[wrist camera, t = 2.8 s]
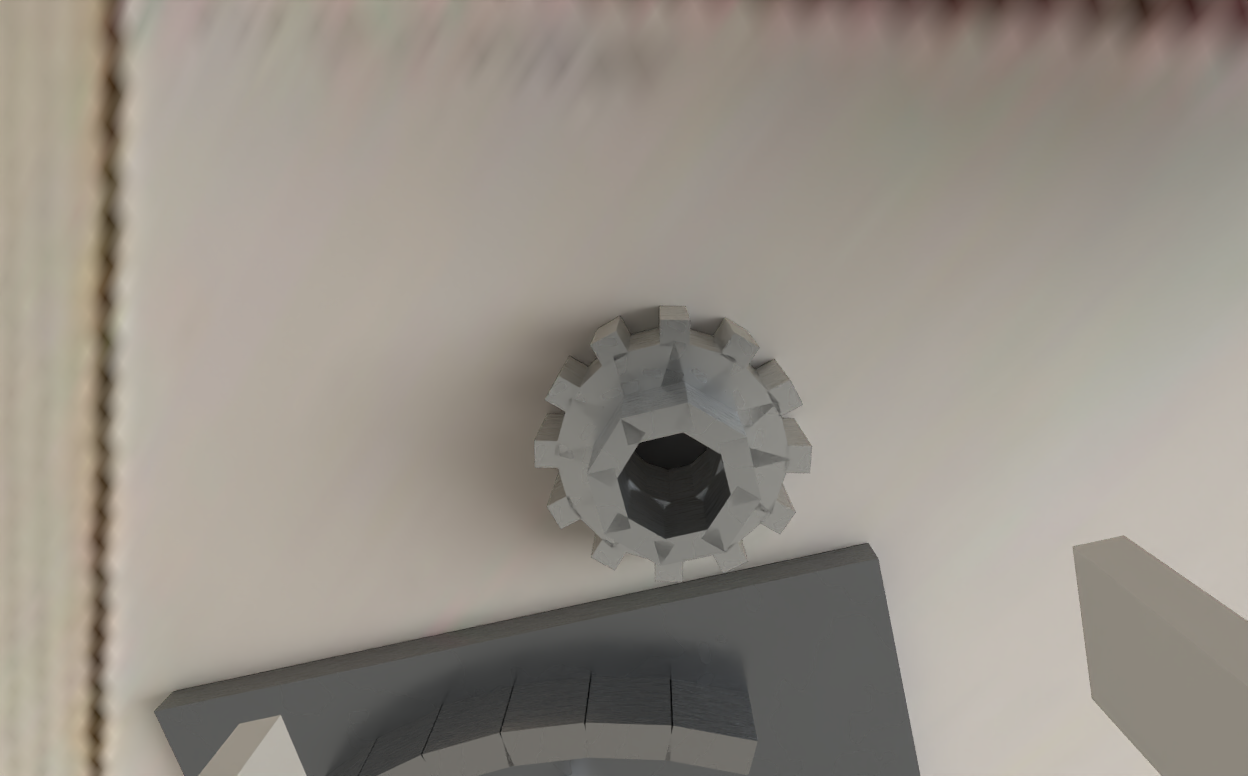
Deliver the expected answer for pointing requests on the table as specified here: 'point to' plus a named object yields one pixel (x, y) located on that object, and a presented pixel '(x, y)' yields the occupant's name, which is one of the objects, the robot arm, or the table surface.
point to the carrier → (603, 688)
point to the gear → (662, 406)
